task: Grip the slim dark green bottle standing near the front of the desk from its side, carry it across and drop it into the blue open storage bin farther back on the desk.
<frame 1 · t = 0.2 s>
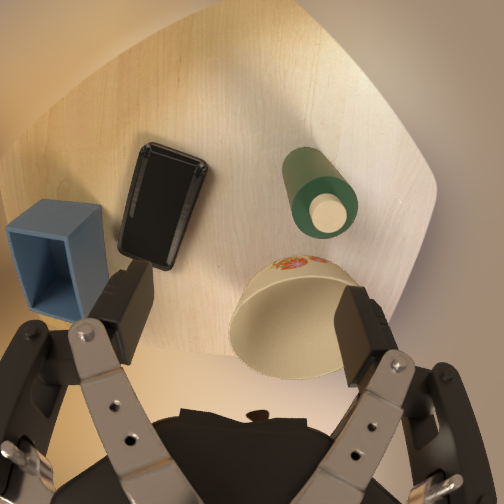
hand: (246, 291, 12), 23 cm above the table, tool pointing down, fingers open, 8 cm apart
bowl: (295, 280, 40), on the table
blue open storage bin: (75, 244, 38), on the table
phone: (159, 208, 35), on the table
bottle: (305, 170, 32), on the table
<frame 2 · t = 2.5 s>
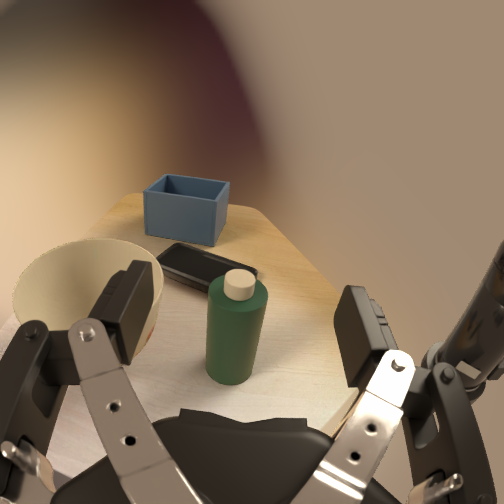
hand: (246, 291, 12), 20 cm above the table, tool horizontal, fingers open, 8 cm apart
bowl: (103, 348, 31), on the table
blue open storage bin: (186, 227, 57), on the table
phone: (203, 273, 46), on the table
bottle: (228, 366, 32), on the table
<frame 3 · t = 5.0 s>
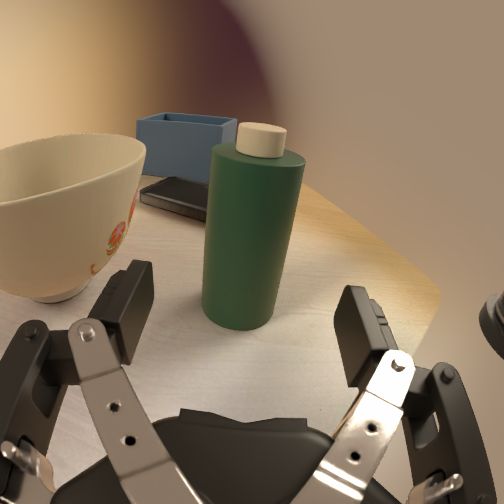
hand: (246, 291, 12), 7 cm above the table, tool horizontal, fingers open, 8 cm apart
bowl: (58, 280, 21), on the table
blue open storage bin: (185, 169, 47), on the table
phone: (204, 205, 36), on the table
bottle: (237, 304, 22), on the table
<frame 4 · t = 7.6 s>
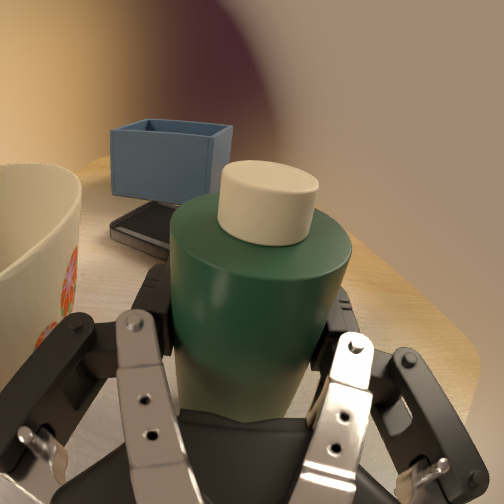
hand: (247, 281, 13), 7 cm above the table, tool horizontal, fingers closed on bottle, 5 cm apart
bowl: (4, 361, 13), on the table
blue open storage bin: (171, 187, 40), on the table
phone: (190, 243, 28), on the table
bottle: (230, 413, 14), on the table, touching gripper
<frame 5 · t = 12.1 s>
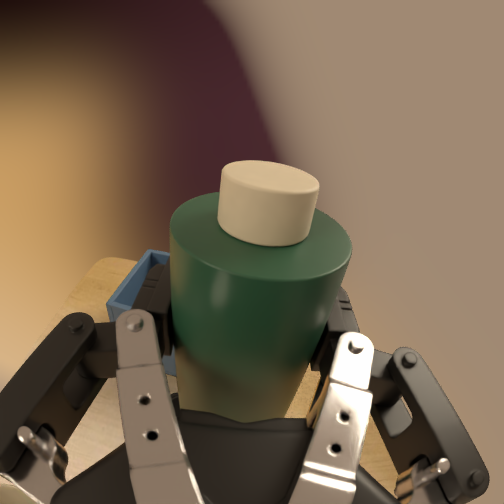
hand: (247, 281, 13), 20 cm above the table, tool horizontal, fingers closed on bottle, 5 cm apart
blue open storage bin: (188, 342, 34), on the table
bottle: (230, 414, 14), point 13 cm above the table, touching gripper
when the fingers open (14 cm above the table, at t = 16.7 s): bottle drops 6 cm, resting on blue open storage bin.
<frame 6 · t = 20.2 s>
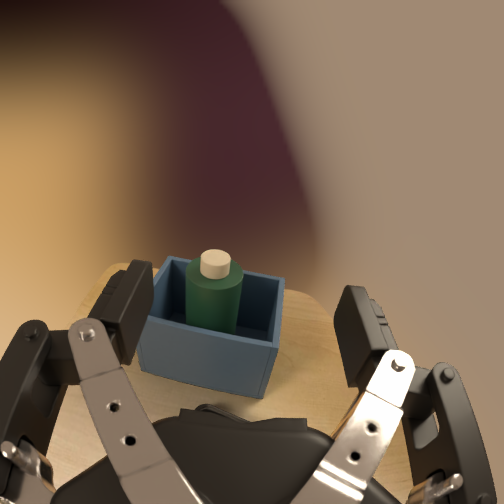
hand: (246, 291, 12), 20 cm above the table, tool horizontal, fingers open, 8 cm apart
blue open storage bin: (210, 351, 33), on the table
phone: (256, 467, 22), on the table
bottle: (209, 349, 33), resting on blue open storage bin
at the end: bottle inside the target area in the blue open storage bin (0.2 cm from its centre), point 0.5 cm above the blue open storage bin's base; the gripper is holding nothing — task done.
